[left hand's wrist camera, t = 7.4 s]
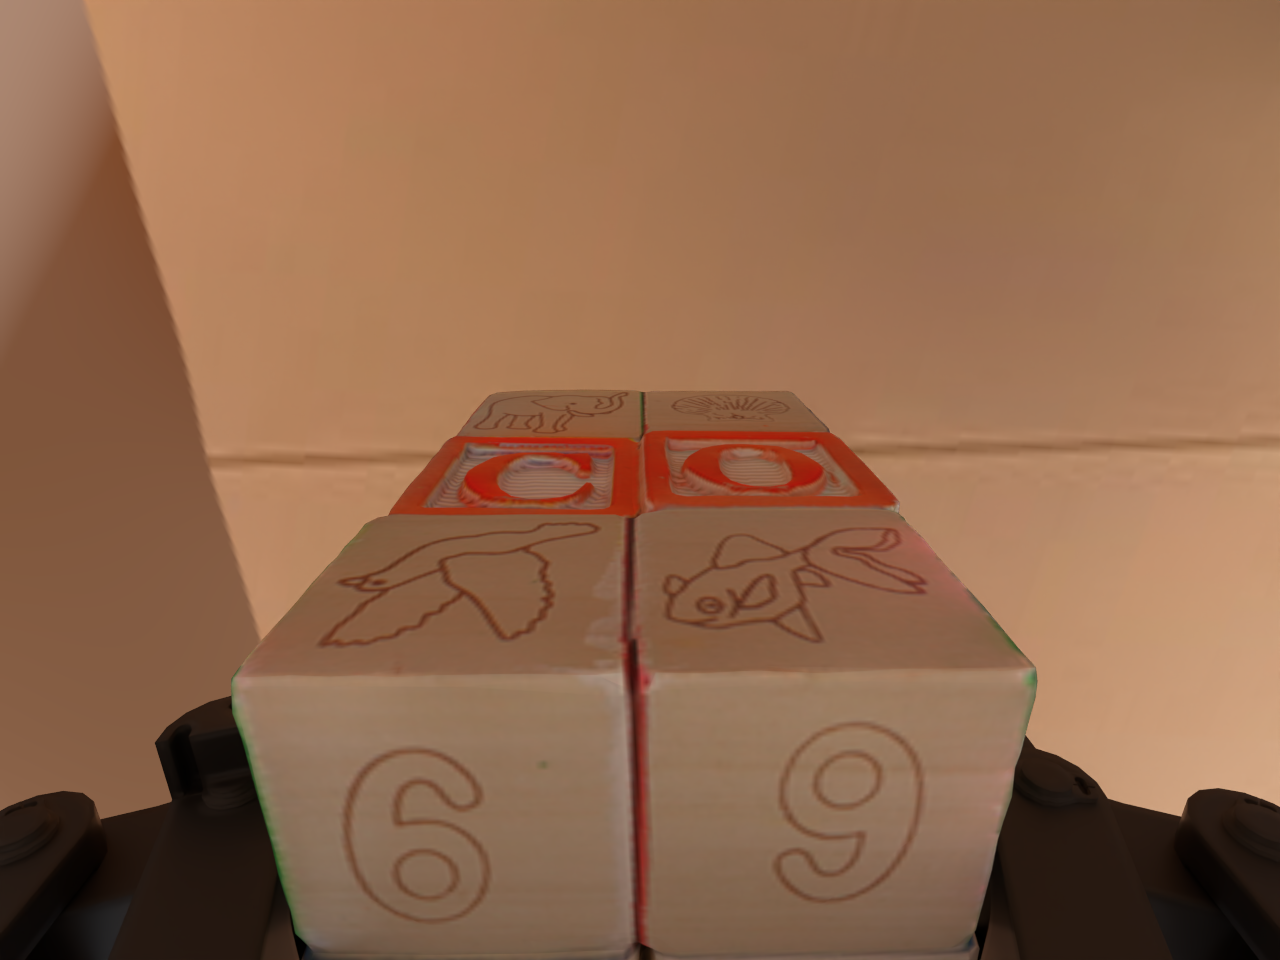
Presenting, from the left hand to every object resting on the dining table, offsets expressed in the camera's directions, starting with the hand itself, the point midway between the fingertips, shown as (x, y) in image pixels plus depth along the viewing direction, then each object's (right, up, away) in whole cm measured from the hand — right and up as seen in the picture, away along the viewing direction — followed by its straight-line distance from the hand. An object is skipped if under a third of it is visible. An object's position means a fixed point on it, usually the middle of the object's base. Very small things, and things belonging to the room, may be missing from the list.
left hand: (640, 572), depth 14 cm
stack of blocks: (0, -6, +3) cm, 7 cm away
